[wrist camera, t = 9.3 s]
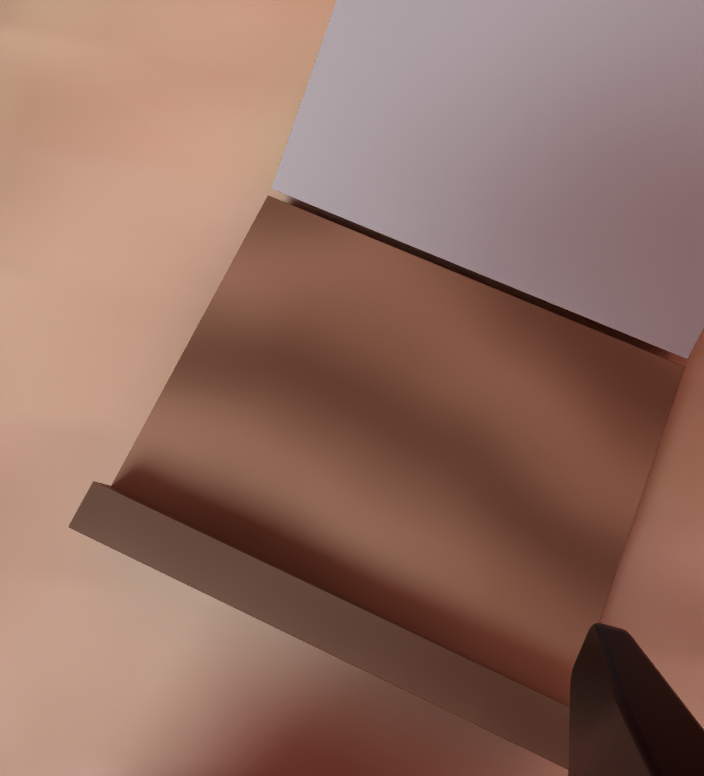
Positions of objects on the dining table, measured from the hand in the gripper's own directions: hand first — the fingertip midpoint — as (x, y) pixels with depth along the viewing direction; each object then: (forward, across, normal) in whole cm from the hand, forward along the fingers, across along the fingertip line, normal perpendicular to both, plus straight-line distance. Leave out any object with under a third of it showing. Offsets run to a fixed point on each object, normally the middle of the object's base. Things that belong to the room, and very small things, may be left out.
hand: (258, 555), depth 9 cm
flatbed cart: (+13, -1, +6) cm, 14 cm away
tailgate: (+16, -2, -1) cm, 16 cm away
